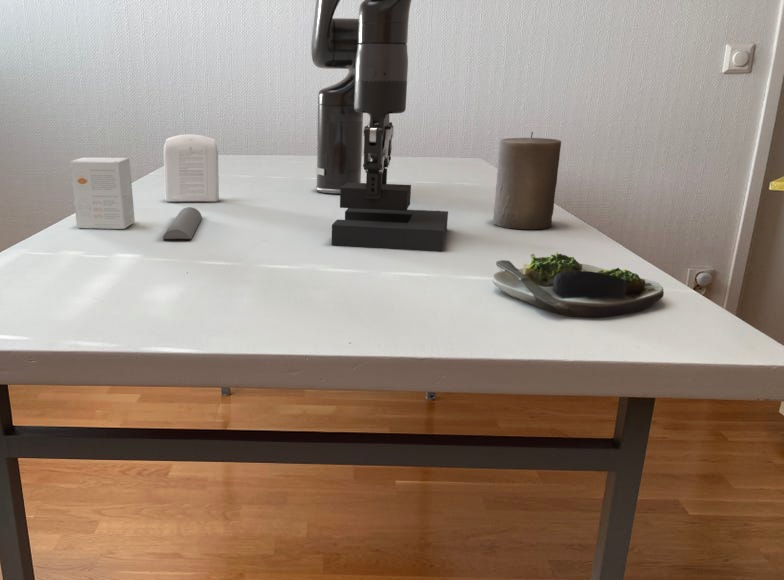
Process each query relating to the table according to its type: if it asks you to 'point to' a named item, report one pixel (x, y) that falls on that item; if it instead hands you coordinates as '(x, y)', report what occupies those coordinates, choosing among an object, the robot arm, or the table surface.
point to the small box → (102, 192)
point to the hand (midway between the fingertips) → (376, 195)
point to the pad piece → (389, 200)
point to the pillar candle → (526, 182)
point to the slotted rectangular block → (391, 229)
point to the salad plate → (576, 287)
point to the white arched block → (191, 169)
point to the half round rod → (184, 224)
